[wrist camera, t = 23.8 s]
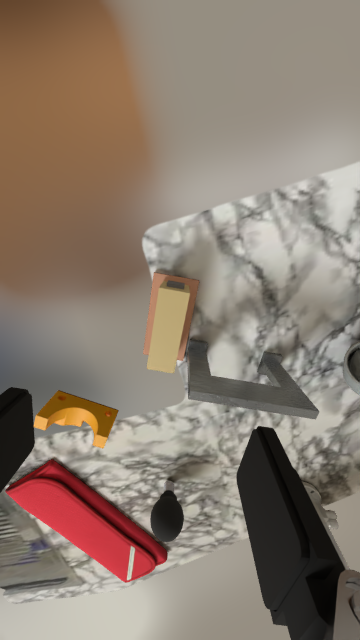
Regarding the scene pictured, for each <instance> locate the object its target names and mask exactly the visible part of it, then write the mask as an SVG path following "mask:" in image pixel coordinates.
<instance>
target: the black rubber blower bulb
mask: <svg viewBox="0 0 360 640" xmlns="http://www.w3.org/2000/svg"><path fill="white" fill-rule="evenodd" d="M150 520H151V528H152V531H153V533H154V535H155V536H156V537H157V538H158V539H159V540H161V541H163V542H170V541H172V540H174V539H175V538H176V537H177V536H178V535H179V533H180V532H181V529H182V526H183V521H184V515H183V510H182V507H181V505H180V504H179V502H178V501H177V497H176V495H175V494H174V483H173V482H172V481H166V482H165V485H164V493H163V494H162V495H161V496H160V499H159V500H158V501H157V502H156V504H155V505H154V507H153V509H152V512H151V518H150Z"/></svg>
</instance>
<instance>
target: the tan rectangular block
mask: <svg viewBox="0 0 360 640" xmlns="http://www.w3.org/2000/svg"><path fill="white" fill-rule="evenodd" d="M189 296H190V289H189V285H185V283H181V282H176V281H170V280H168V281H163V282H162V284H161V285H160V287H159V291H158V297H157V304H156V310H155V317H154V324H153V330H152V337H151V344H150V350H149V357H148V364H147V369H150V370H156V371H162V372H168V373H174V370H175V366H176V361H177V356H178V351H179V346H180V341H181V336H182V331H183V326H184V321H185V316H186V311H187V306H188V301H189Z"/></svg>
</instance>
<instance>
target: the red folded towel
mask: <svg viewBox="0 0 360 640" xmlns="http://www.w3.org/2000/svg"><path fill="white" fill-rule="evenodd" d="M6 493H7V494H8V495H9V496H10V497H11V498H13V499H14V500H15V501H16V502H17V503H18V504H19V505H20V506H21V507H22V508H24V509H25V510H26V511H28V512H29V513H31V514H32V515H34V516H35V517H37V518H38V519H40V520H41V521H42V522H44V523H45V524H47V525H48V526H50V527H51V528H52V529H54V530H55V531H57V532H58V533H60V534H61V535H62V536H64V537H65V538H66V539H68V540H69V541H70V542H72V543H73V544H74V545H75V546H77V547H78V548H80V549H81V550H82V551H84V552H85V553H87V554H88V555H89V556H91V557H92V558H93V559H95V560H96V561H98V562H99V563H100V564H102V565H103V566H104V567H105V568H107V569H108V570H109V571H111V572H112V573H113V574H115V575H116V576H117V577H118V578H119V579H121V580H122V581H124V582H130V581H132V580H135V579H138V578H140V577H142V576H144V575H147V574H149V573H150V572H152V571H153V570H154V569H155V566H157V565H160V564H163V563H164V562H166V560H167V551H166V550H165V549H164V548H163V547H162V546H161V545H160V544H158V543H157V542H156V541H155V540H154V539H153V538H152V537H150V536H149V535H148V534H147V533H146V532H144V531H143V530H142V529H141V528H140V527H138V526H137V525H136V524H135V523H134V522H132V521H131V520H130V519H129V518H127V517H126V516H124V515H123V514H122V513H121V512H120V511H118V510H117V509H116V508H115V507H114V506H112V505H111V504H110V503H109V502H107V501H106V500H105V499H104V498H102V497H101V496H100V495H99V494H97V493H96V492H95V491H93V490H92V489H91V488H89V487H88V486H87V485H86V484H85V483H83V482H82V481H81V480H79V479H78V478H77V477H75V476H74V475H73V474H71V473H70V472H69V471H67V470H66V469H65V468H64V467H62V466H61V465H60V464H58V463H57V462H55V461H54V460H53V459H51V460H49V461H48V462H47V463H46V464H44V465H43V466H41V467H40V468H38V469H36V470H35V471H33V472H32V473H30V474H28V475H27V476H25V477H24V478H22V479H20V480H19V481H17V482H15V483H13V484H11V485H10V486H9V487H8V488H7V489H6Z"/></svg>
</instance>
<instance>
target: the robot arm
mask: <svg viewBox="0 0 360 640" xmlns="http://www.w3.org/2000/svg"><path fill="white" fill-rule="evenodd" d="M34 444H35V440H34V424H33V409H32V396H31V394H29V392H28V390H26V389H20V388H13V387H11V388H9V389H7V390H6V391H5V392H4V393H2V394H1V395H0V493H1V491H2V490H3V489H4V487H5V486H6V485H7V483H8V482H9V481H10V479H11V478H12V477H13V475H14V474H15V473H16V471H17V470H18V469H19V467H20V466H21V465H22V463H23V462H24V461H25V459H26V458H27V457H28V455H29V454H30V453H31V451H32V449H33V447H34ZM237 485H238V489H239V494H240V498H241V503H242V507H243V512H244V516H245V521H246V525H247V530H248V534H249V539H250V543H251V548H252V552H253V557H254V561H255V566H256V570H257V575H258V579H259V584H260V588H261V593H262V597H263V601H264V604H265V606H266V607H267V609H270V612H271V616H272V620H273V624H276V625H284V626H288V630H289V634H290V638H291V640H360V573H359V572H357V571H355V570H350V568H349V566H348V564H347V562H346V560H345V558H344V557H343V555H342V553H341V551H340V549H339V547H338V545H337V543H336V541H335V539H334V537H333V535H332V533H331V531H330V529H329V528H333V529H338V522H337V520H336V519H337V515H336V513H335V512H334V511H331V510H325V509H324V508H323V507H322V505H321V496H320V494H319V492H318V491H317V489H316V488H315V487H314V486H313V485H311V484H309V483H306V482H303V481H301V479H300V477H299V475H298V473H297V472H296V470H295V469H294V468H293V467H292V465H291V463H290V461H289V459H288V457H287V455H286V453H285V451H284V449H283V446H282V444H281V442H280V440H279V438H278V436H277V434H276V432H275V431H274V429H273V428H268V427H262V426H258V427H257V429H254V430H253V431H252V434H251V437H250V439H249V442H248V445H247V447H246V450H245V453H244V455H243V458H242V461H241V463H240V466H239V469H238V472H237Z"/></svg>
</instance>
